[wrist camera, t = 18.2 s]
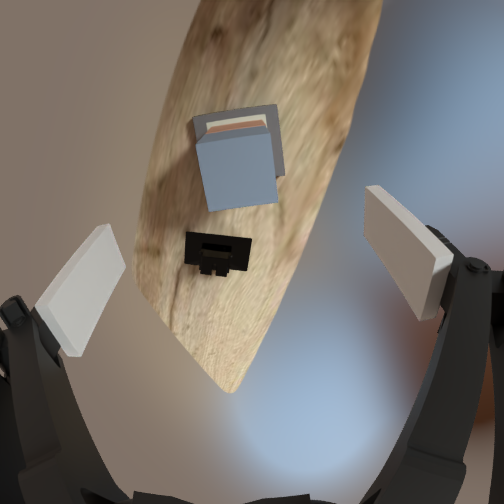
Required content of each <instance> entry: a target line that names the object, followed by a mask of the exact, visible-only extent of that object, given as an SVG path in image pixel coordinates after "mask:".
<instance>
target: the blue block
mask: <svg viewBox="0 0 504 504" xmlns="http://www.w3.org/2000/svg"><path fill="white" fill-rule="evenodd" d="M195 145H196V150H197V156H198V161H199V166H200V171H201V176H202V181H203V186H204V191H205V195H206V200H207V205H208V210H209V212H212V211H219V210H226V209H233V208H240V207H247V206H254V205H262V204H270V203H278V194H277V185H276V176H275V168H274V159H273V151H272V143H271V135H270V132H269V131H268V129H267V128H266V126H265V125H264V126H256V127H248V128H241V129H234V130H228V131H221V132H215V133H210V134H205V135H204V136H203V137H202V138H201V139H200V140H199V141H198V142H197V143H196V144H195Z"/></svg>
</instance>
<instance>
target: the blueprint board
mask: <svg viewBox="0 0 504 504" xmlns="http://www.w3.org/2000/svg"><path fill="white" fill-rule="evenodd" d="M192 118H193V123H194V128H195V134H196V139H197V142H198V141H199V140H200V139H201V138H202V137H203V136H204V135H205V133H206V132H207V131H208V130H209V129H210V128H211V127H213V126H219V125H225V124H232V123H239V122H246V121H253V120H263V121H264V123H265V124H266V128H267V129H268V131H269V132H270V135H271V143H272V151H273V159H274V168H275V176H284V175H285V168H284V159H283V150H282V142H281V134H280V125H279V118H278V110H277V104H272V105H263V106H255V107H248V108H241V109H234V110H227V111H221V112H216V113H210V114H205V115H199V116H194V117H192Z"/></svg>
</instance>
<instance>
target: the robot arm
mask: <svg viewBox="0 0 504 504" xmlns="http://www.w3.org/2000/svg"><path fill="white" fill-rule="evenodd" d="M364 237H365V238H366V239H367V241H368V242H369V244H370V245H371V247H372V248H373V249H374V251H375V252H376V254H377V255H378V257H379V258H380V260H381V261H382V262H383V264H384V266H385V267H386V269H387V270H388V272H389V273H390V275H391V276H392V278H393V279H394V281H395V282H396V284H397V285H398V287H399V289H400V290H401V292H402V293H403V295H404V297H405V298H406V300H407V302H408V303H409V305H410V306H411V308H412V310H413V311H414V313H415V315H416V316H417V318H418V320H419V321H424V320H428V319H431V318H435V317H436V315H437V313H438V309H439V306H440V305H441V307H442V308H443V310H444V311H445V313H444V316H443V319H442V322H441V325H440V327H439V330H438V332H437V333H438V337H437V340H436V344H435V347H434V350H433V354H432V357H431V360H430V363H429V366H428V369H427V371H426V374H425V377H424V380H423V383H422V385H421V388H420V390H419V393H418V395H417V398H416V400H415V403H414V405H413V408H412V410H411V412H410V415H409V417H408V419H407V421H406V424H405V426H404V428H403V430H402V432H401V434H400V436H399V438H398V440H397V442H396V444H395V446H394V448H393V450H392V452H391V454H390V456H389V458H388V460H387V461H386V463H385V465H384V467H383V469H382V470H381V472H380V474H379V475H378V477H377V478H376V480H375V481H374V483H373V484H372V486H371V487H370V488H369V490H368V492H367V493H366V494H365V496H364V497H363V499H362V500H361V502H360V503H359V504H454V503H455V500H456V498H457V496H458V493H459V491H460V489H461V486H462V484H463V481H464V478H465V474H466V465H465V464H464V463H463V456H464V453H465V450H466V447H467V444H468V440H469V437H470V433H471V430H472V427H473V423H474V419H475V416H476V412H477V408H478V403H479V398H480V394H481V389H482V384H483V378H484V372H485V367H486V359H487V352H488V344H489V347H490V354H491V363H492V373H493V384H494V402H495V442H494V459H493V471H492V479H491V487H490V495H489V503H488V504H504V271H491V268H490V267H489V266H488V264H486V263H485V262H484V261H482V260H480V259H477V258H473V257H468V258H466V257H465V256H464V255H463V254H462V253H461V252H460V251H459V250H458V249H457V248H456V247H455V246H454V245H453V244H452V243H450V241H449V240H448V239H447V238H445V236H443V234H441V233H440V232H439V231H438V230H437V229H435V228H433V227H431V226H429V225H426V226H424V225H423V224H422V223H421V222H420V221H419V220H418V219H417V218H416V217H415V216H414V215H412V214H411V213H410V212H409V211H408V210H407V209H406V208H405V207H404V206H403V205H401V204H400V203H399V202H398V201H397V200H396V199H394V198H393V197H392V196H391V195H390V194H389V193H388V192H386V191H385V190H384V189H383V188H381V187H380V186H379V185H376V186H366V187H365V218H364ZM125 268H126V266H125V263H124V261H123V258H122V256H121V253H120V251H119V248H118V246H117V243H116V240H115V237H114V235H113V232H112V229H111V226H110V224H104V225H99V226H97V227H96V229H95V230H94V231H93V232H92V233H91V234H90V236H89V237H88V238H87V239H86V240H85V241H84V242H83V244H82V245H81V246H80V247H79V249H78V250H77V251H76V252H75V253H74V254H73V256H72V257H71V258H70V259H69V261H68V262H67V263H66V264H65V266H64V267H63V268H62V270H61V271H60V272H59V273H58V275H57V276H56V277H55V278H54V280H53V281H52V282H51V284H50V285H49V287H48V288H47V289H46V291H45V292H44V293H43V295H42V296H41V297H40V299H39V300H38V302H37V303H36V304H35V306H34V307H33V309H32V310H31V312H30V311H29V309H28V308H27V306H26V304H25V303H24V301H23V300H22V298H21V296H19V295H16V296H13V297H11V298H9V299H8V300H6V301H5V302H4V303H3V304H2V305H1V307H0V317H1V318H2V320H3V321H4V323H5V324H6V326H7V327H8V329H6V330H3V331H2V330H1V328H0V368H1V369H2V371H3V372H4V377H3V376H1V375H0V504H193V503H190V502H187V501H184V500H181V499H178V498H175V497H172V496H163V495H156V494H149V493H142V492H137V491H134V494H133V499H129V497H128V496H127V495H126V494H125V493H124V492H123V491H122V490H121V489H119V487H118V486H117V485H116V484H115V482H114V480H113V479H112V477H111V475H110V473H109V471H108V470H107V468H106V466H105V464H104V462H103V460H102V458H101V456H100V454H99V452H98V450H97V448H96V446H95V444H94V442H93V440H92V437H91V435H90V433H89V431H88V429H87V426H86V424H85V422H84V419H83V417H82V414H81V412H80V410H79V407H78V404H77V402H76V399H75V396H74V394H73V391H72V388H71V385H70V382H69V380H68V376H67V373H66V370H65V367H64V364H63V361H62V358H61V357H60V355H59V354H58V351H59V349H60V347H62V349H63V350H64V352H65V353H66V354H67V356H73V357H81V356H82V353H83V351H84V349H85V347H86V345H87V342H88V340H89V338H90V336H91V334H92V332H93V330H94V328H95V325H96V323H97V321H98V319H99V317H100V315H101V313H102V311H103V309H104V307H105V305H106V303H107V301H108V299H109V298H110V295H111V294H112V292H113V290H114V288H115V286H116V284H117V282H118V281H119V279H120V277H121V275H122V273H123V271H124V270H125ZM245 504H335V503H331V502H326V501H320V500H310V495H309V494H305V495H297V496H288V497H278V498H265V499H260V500H256V501H253V502H249V503H245Z"/></svg>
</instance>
